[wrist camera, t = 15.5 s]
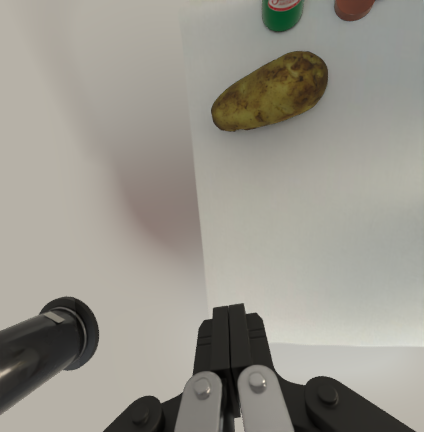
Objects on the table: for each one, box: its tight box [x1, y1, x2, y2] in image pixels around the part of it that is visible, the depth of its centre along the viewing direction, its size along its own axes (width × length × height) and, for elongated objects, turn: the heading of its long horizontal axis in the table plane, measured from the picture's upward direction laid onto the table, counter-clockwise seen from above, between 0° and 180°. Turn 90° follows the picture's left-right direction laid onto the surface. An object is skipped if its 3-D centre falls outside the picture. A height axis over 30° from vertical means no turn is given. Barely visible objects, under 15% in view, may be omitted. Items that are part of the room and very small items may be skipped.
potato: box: [211, 51, 328, 132], centre depth 29 cm, size 8×13×8 cm, turn 80°
